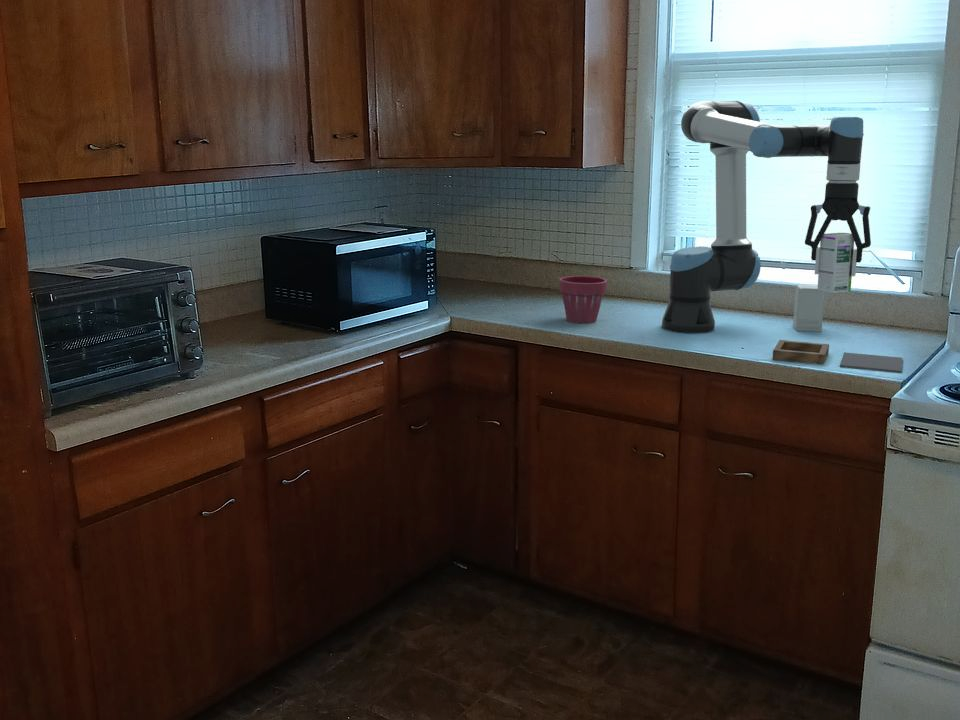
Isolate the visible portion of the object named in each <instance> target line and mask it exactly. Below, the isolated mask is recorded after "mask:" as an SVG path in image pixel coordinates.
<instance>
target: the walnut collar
mask: <svg viewBox="0 0 960 720" xmlns="http://www.w3.org/2000/svg"><path fill="white" fill-rule="evenodd" d="M829 348H830V344H829V343H819V342H810V341H809V342H807V341H798V340H786V339H779V340H778V341H777V343H776V345H775V347H773V350H772V360H774V361H784V362H791V363H792V362H793V363H802V362H803V364H813V363H814V365H823V364H824V363H826V360H827V358H828V356H829V350H830V349H829ZM815 363H816V364H815ZM824 365H825V364H824Z"/></svg>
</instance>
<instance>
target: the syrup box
mask: <svg viewBox="0 0 960 720" xmlns="http://www.w3.org/2000/svg"><path fill="white" fill-rule="evenodd" d="M819 247H820V258H819V272H818V274H817V285H818V288H817V289H818V290H819V291H822V292H825V293H828V294H840V293H850V292H851V289H852V277H853V276H851V274H852V262H853V250H854V249H855V241H854V239H853V236H852V233H851V232H833V233H832V232H831V233H824V234H823V236H822V238H821V240H820V242H819Z"/></svg>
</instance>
